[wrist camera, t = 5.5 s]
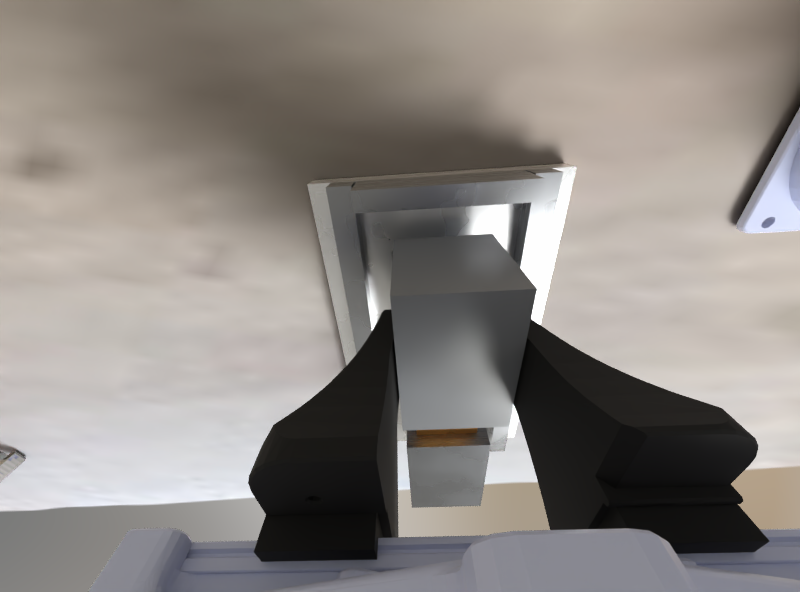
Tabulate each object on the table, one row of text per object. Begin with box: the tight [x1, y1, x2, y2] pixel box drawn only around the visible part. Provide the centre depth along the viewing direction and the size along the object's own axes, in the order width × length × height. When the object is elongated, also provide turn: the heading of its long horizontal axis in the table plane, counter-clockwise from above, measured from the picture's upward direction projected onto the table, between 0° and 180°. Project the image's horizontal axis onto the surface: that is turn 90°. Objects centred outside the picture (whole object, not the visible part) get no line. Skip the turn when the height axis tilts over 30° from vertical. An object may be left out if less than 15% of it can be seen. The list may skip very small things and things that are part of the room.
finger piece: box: [390, 234, 537, 431], centre depth 12 cm, size 4×6×4 cm, turn 4°
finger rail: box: [307, 163, 577, 507], centre depth 15 cm, size 11×18×6 cm, turn 4°
